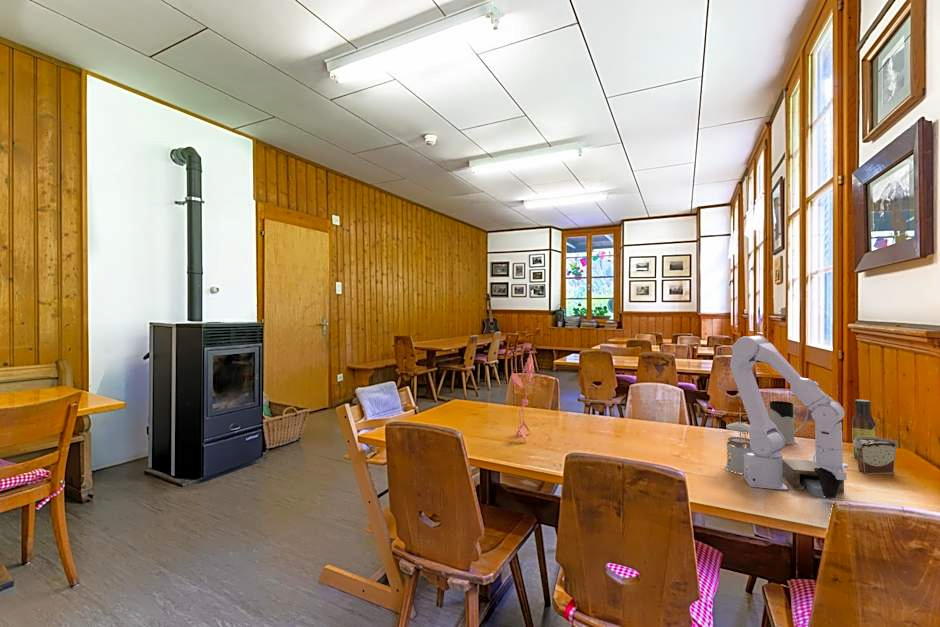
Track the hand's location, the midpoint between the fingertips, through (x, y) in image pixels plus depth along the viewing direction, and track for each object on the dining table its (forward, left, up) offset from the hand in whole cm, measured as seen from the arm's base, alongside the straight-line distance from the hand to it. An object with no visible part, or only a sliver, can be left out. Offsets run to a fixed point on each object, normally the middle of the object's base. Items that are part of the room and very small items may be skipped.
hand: (829, 497), depth 120 cm
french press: (-16, +21, -1) cm, 26 cm away
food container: (+22, +31, -1) cm, 38 cm away
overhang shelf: (0, +12, -1) cm, 12 cm away
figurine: (-88, +37, -1) cm, 95 cm away
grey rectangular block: (0, +7, -1) cm, 7 cm away
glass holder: (+9, +59, -1) cm, 60 cm away
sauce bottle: (+26, +44, -1) cm, 51 cm away
